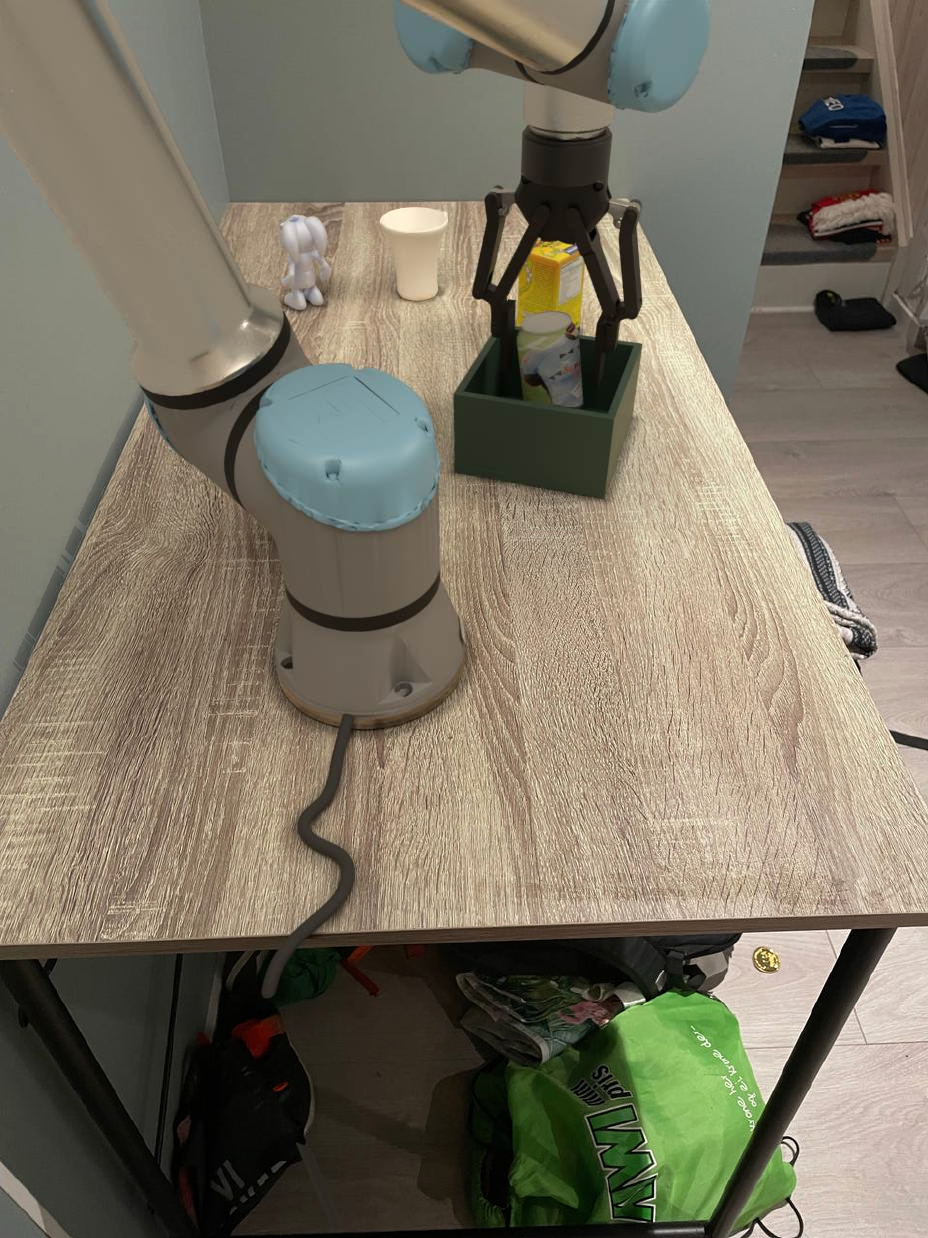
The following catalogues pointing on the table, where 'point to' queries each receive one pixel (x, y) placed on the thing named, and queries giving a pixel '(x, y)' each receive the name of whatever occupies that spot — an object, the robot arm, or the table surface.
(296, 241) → the toy figurine
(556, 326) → the beverage can
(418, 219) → the cup
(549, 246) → the supplement box
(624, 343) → the bin
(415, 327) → the table surface
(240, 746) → the table surface
